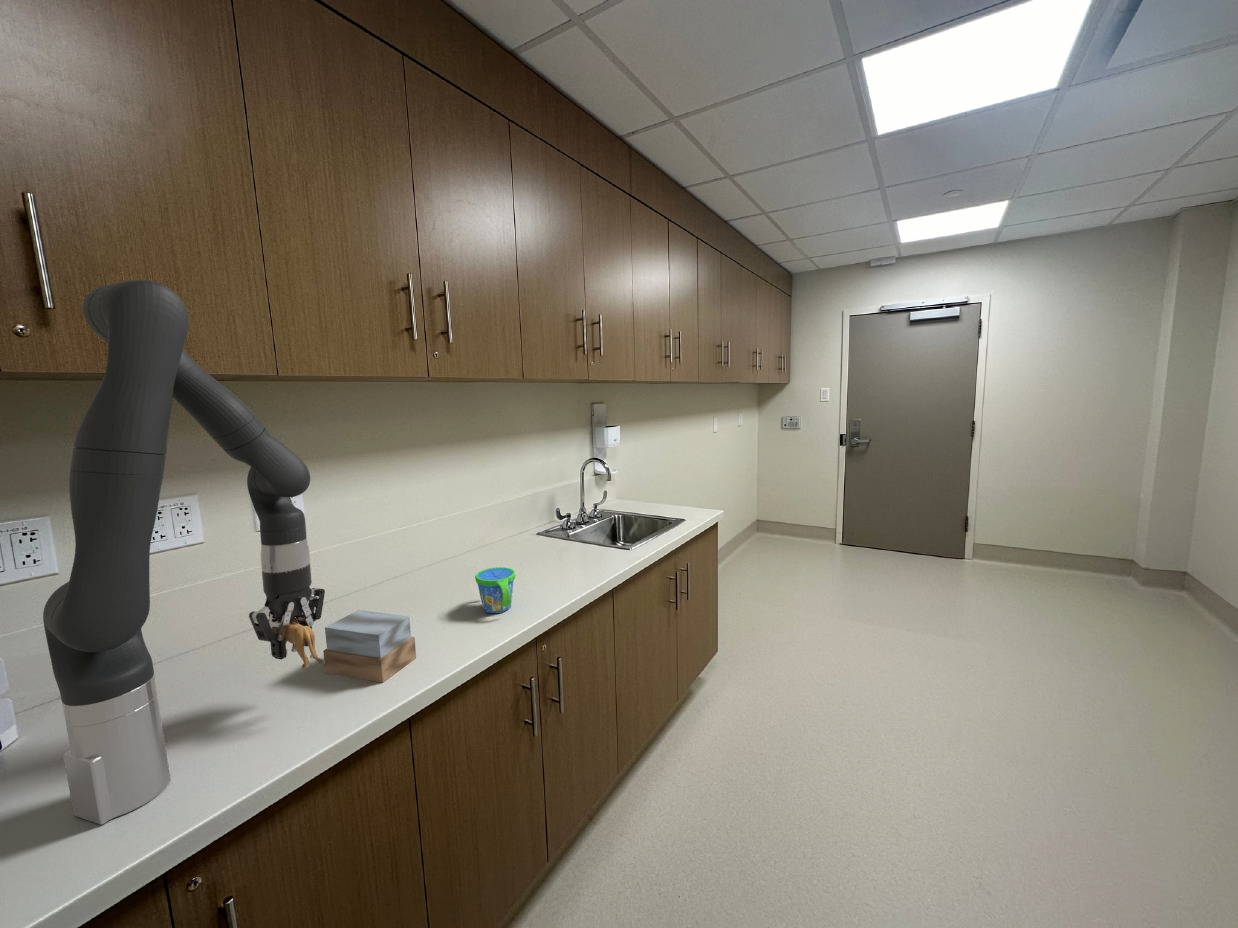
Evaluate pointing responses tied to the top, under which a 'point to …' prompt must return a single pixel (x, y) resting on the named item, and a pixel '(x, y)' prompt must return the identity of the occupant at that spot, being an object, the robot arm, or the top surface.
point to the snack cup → (496, 588)
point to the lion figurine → (300, 640)
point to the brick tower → (369, 645)
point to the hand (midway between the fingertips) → (293, 650)
